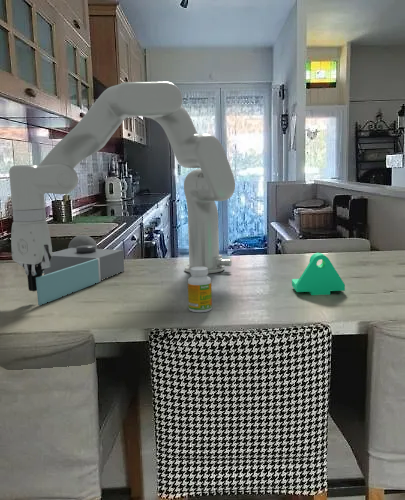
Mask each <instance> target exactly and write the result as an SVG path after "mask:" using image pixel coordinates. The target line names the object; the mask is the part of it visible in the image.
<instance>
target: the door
mask: <svg viewBox="0 0 405 500" xmlns="http://www.w3.org/2000/svg"><path fill="white" fill-rule="evenodd" d="M101 282H102V281H101V276H100V261H99V258H96V259H94V260H90V261H87V262H84V263H81V264H78V265H75V266H71V267H68V268H65V269H62V270H59V271H55V272H52V273H49V274H46V275H44V274H42V276H40V277H36V286H37V291H36V296H37V305H38V306H42V304H43V305H45V304H47V302H48V303H49V302H52V301H56V300H58V299H61V298H62V296H63V297H65V296H67V294H68V295H70V294H73V293H75V292H77V291H78V292H79V291H81V290H82V289H86V288H88V287H90V286H93V285H96V284H99V283H101ZM95 283H96V284H95ZM72 292H73V293H72Z"/></svg>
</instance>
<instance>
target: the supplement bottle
mask: <svg viewBox="0 0 405 500" xmlns="http://www.w3.org/2000/svg"><path fill="white" fill-rule="evenodd" d="M189 274H190V275H191V276H190V277H188V279H187V296H188V297H187V299H188V300H187V301H188V302H187V304H188V310H189V311H190V312H192V313H207V312H210V311H211V310H212V309H213V299H212V297H213V295H212V294H213V293H212V292H213V291H212V290H213V289H212V278H211V277H210V276H208V275H209V274H208V268H207V267H192V268H190V273H189Z"/></svg>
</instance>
